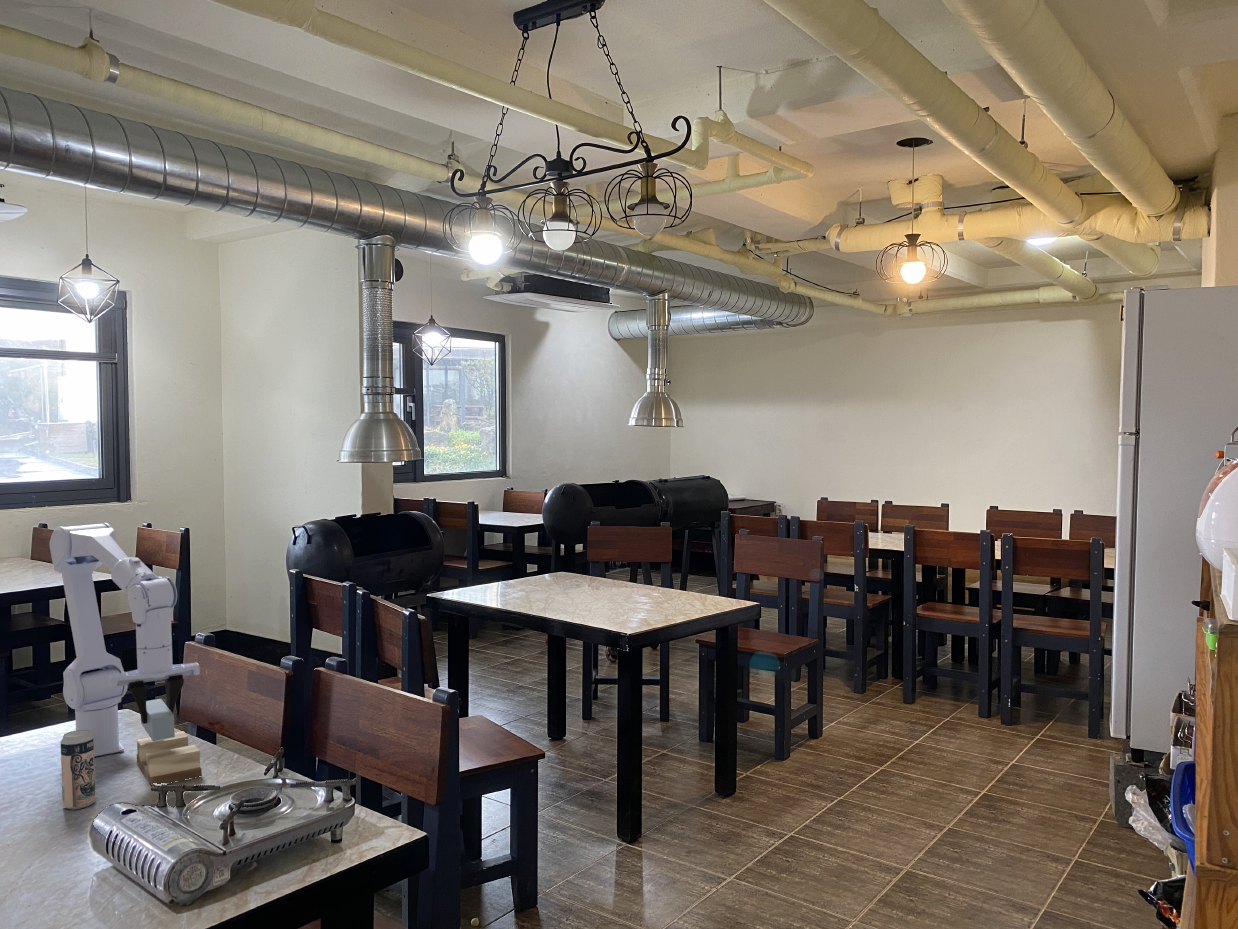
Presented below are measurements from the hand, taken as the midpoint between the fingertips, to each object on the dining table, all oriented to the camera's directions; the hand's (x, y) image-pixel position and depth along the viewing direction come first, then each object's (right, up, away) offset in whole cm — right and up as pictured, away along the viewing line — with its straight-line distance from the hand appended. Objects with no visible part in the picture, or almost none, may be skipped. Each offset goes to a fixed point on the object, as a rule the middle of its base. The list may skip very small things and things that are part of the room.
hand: (157, 720), depth 168 cm
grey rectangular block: (0, -2, 0) cm, 2 cm away
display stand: (+2, -9, +1) cm, 9 cm away
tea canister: (-5, -10, -15) cm, 19 cm away
